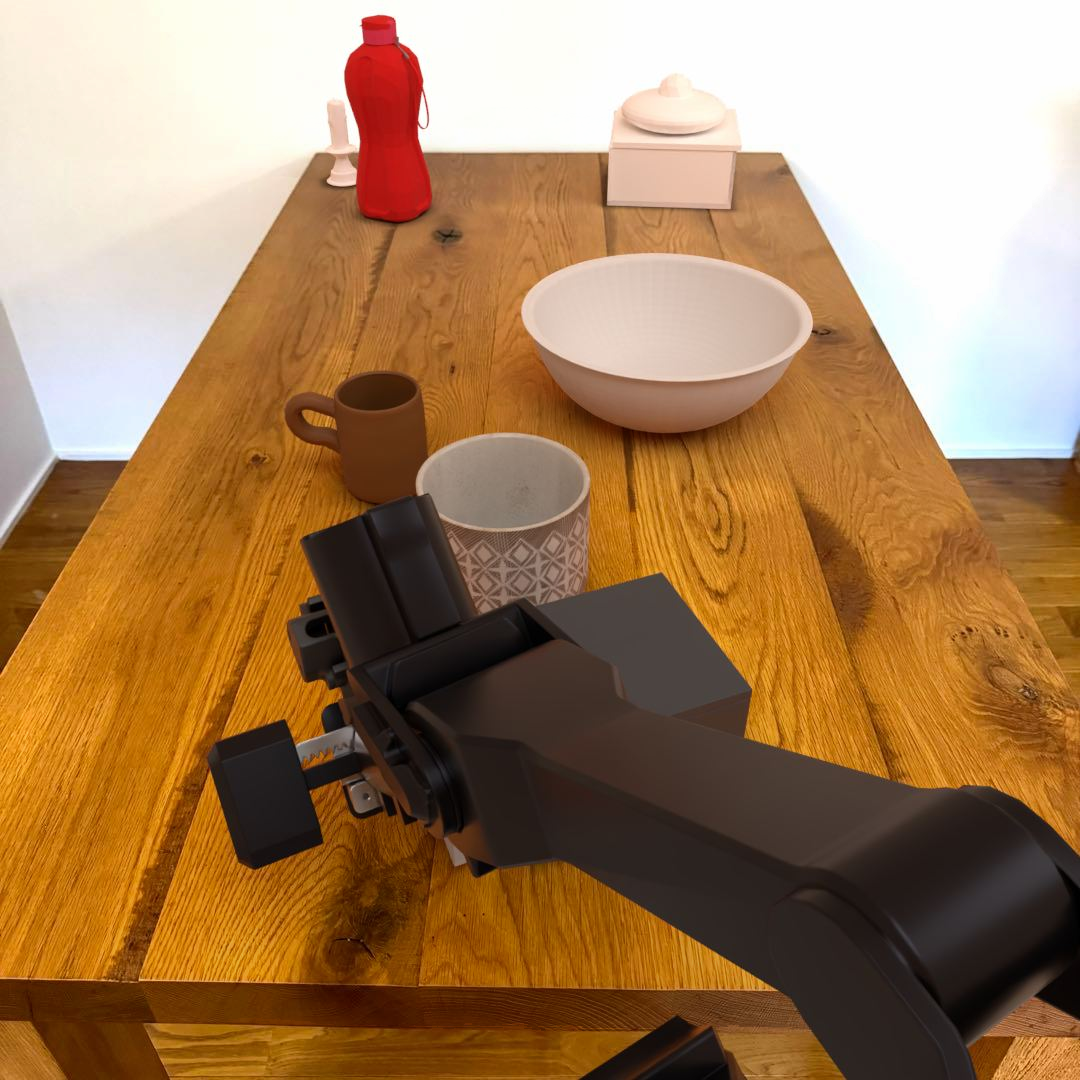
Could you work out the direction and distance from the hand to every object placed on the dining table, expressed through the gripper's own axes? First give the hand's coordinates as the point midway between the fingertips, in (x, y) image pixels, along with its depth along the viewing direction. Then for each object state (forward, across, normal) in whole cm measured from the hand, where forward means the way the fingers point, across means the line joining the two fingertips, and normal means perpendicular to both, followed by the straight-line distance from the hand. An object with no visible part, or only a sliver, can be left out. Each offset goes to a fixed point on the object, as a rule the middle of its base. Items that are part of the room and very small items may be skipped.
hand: (380, 738), depth 60 cm
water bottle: (+75, -36, -63) cm, 104 cm away
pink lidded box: (+69, -76, -57) cm, 117 cm away
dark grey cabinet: (+4, -14, +6) cm, 16 cm away
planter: (+17, -16, -6) cm, 24 cm away
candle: (+86, -33, -74) cm, 119 cm away
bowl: (+31, -41, -20) cm, 55 cm away
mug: (+31, -10, -20) cm, 38 cm away
